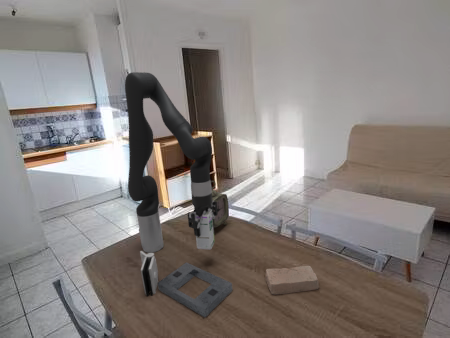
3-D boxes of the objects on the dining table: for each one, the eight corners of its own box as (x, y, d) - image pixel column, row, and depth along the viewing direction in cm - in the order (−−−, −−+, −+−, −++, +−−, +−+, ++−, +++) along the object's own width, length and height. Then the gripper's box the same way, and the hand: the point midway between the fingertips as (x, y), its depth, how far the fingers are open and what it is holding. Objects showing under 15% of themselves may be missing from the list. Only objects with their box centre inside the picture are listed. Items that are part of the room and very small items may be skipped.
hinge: (143, 273, 105) (139, 251, 102) (157, 270, 106) (154, 247, 104) (144, 297, 92) (140, 272, 90) (161, 293, 94) (157, 268, 91)
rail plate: (158, 290, 95) (157, 282, 94) (187, 269, 106) (186, 261, 105) (205, 317, 82) (204, 309, 81) (232, 290, 92) (231, 282, 92)
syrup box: (211, 250, 103) (208, 215, 99) (196, 248, 104) (193, 214, 100) (214, 241, 108) (212, 208, 104) (200, 241, 109) (197, 208, 105)
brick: (310, 274, 98) (310, 263, 97) (320, 290, 90) (320, 278, 89) (265, 280, 97) (264, 268, 96) (270, 296, 89) (270, 284, 88)
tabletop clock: (213, 237, 128) (209, 187, 121) (198, 232, 133) (193, 184, 126) (229, 224, 140) (226, 177, 133) (215, 220, 144) (211, 176, 138)
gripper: (206, 184, 107) (209, 221, 112) (180, 196, 97) (184, 236, 101) (221, 187, 103) (223, 226, 107) (195, 200, 92) (199, 242, 97)
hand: (204, 231), depth 104 cm, fingers closed on syrup box, 7 cm apart
